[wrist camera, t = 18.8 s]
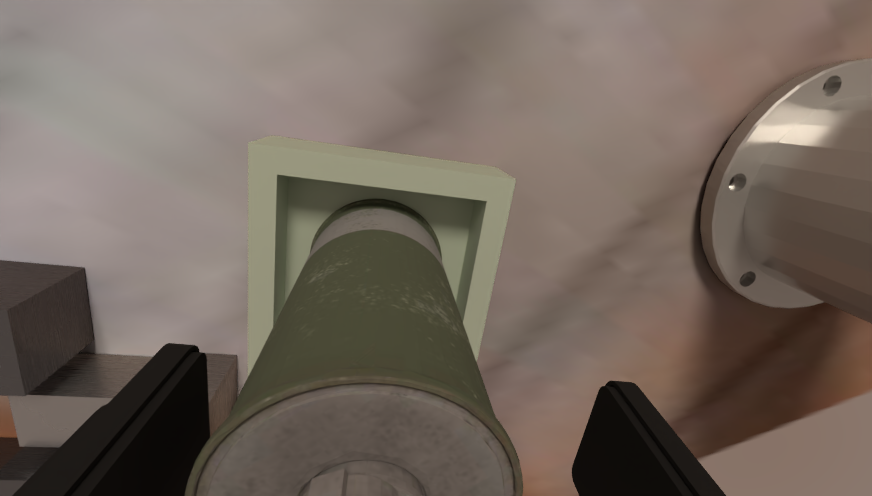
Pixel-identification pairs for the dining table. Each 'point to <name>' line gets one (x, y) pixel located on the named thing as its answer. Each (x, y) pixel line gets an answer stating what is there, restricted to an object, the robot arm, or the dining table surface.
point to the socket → (37, 345)
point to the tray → (357, 180)
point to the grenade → (364, 379)
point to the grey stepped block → (102, 395)
